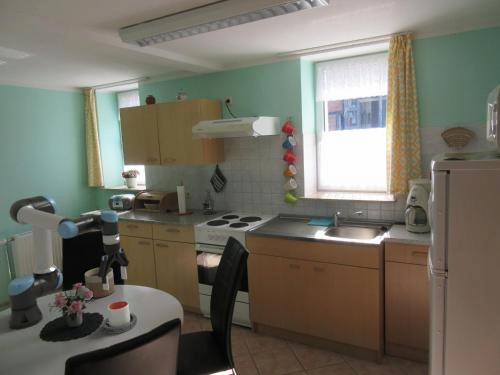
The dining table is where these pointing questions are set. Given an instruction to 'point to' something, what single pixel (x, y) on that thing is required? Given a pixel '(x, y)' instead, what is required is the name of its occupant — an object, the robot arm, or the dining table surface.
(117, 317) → the cup
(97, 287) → the planter
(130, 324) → the ring coaster
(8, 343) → the dining table surface
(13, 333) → the dining table surface
